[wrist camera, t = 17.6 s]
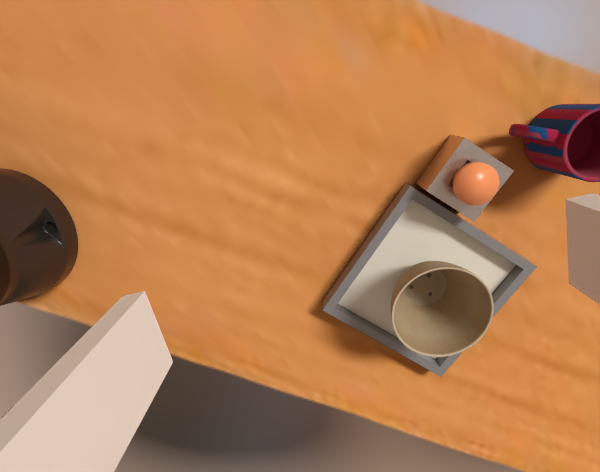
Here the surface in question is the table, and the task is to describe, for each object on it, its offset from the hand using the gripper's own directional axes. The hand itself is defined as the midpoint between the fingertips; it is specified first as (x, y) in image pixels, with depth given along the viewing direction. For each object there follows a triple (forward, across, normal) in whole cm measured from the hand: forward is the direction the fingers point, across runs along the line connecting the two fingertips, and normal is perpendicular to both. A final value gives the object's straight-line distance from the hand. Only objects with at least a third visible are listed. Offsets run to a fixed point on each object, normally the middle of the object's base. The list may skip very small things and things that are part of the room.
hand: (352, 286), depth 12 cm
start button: (+29, +13, -5) cm, 33 cm away
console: (+32, +13, -5) cm, 35 cm away
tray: (+32, +8, -17) cm, 37 cm away
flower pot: (+31, +8, -17) cm, 36 cm away
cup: (+32, +23, -3) cm, 39 cm away
